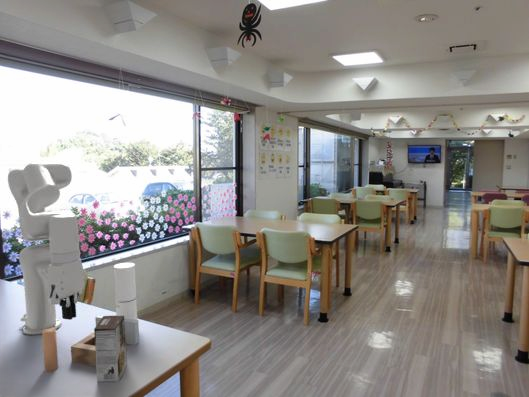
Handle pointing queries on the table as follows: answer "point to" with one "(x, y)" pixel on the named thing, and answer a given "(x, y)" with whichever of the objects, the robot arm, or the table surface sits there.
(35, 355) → the table surface
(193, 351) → the table surface
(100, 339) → the coffee box
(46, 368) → the peach rounded capsule
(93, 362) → the block
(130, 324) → the backstop wall
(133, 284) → the cylindrical container
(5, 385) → the table surface
